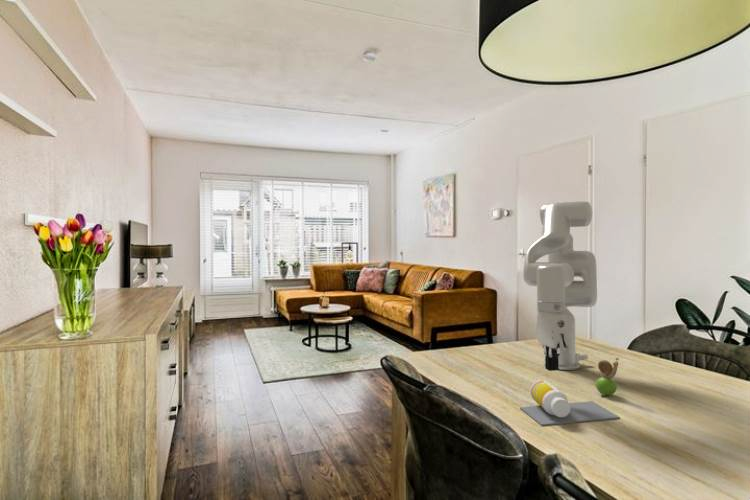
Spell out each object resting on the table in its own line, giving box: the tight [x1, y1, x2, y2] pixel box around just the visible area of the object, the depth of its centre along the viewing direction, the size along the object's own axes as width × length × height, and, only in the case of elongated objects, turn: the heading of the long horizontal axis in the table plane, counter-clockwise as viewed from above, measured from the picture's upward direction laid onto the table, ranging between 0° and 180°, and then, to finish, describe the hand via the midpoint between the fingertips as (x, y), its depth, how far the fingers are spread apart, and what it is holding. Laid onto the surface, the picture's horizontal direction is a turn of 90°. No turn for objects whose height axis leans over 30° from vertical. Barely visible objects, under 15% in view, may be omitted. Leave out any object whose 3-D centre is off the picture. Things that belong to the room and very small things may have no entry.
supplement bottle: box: [530, 379, 570, 417], centre depth 114 cm, size 7×7×13 cm
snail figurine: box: [595, 357, 619, 397], centre depth 125 cm, size 5×6×12 cm
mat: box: [519, 400, 621, 427], centre depth 113 cm, size 22×11×1 cm, turn 98°
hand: (552, 369), depth 123 cm, fingers closed
